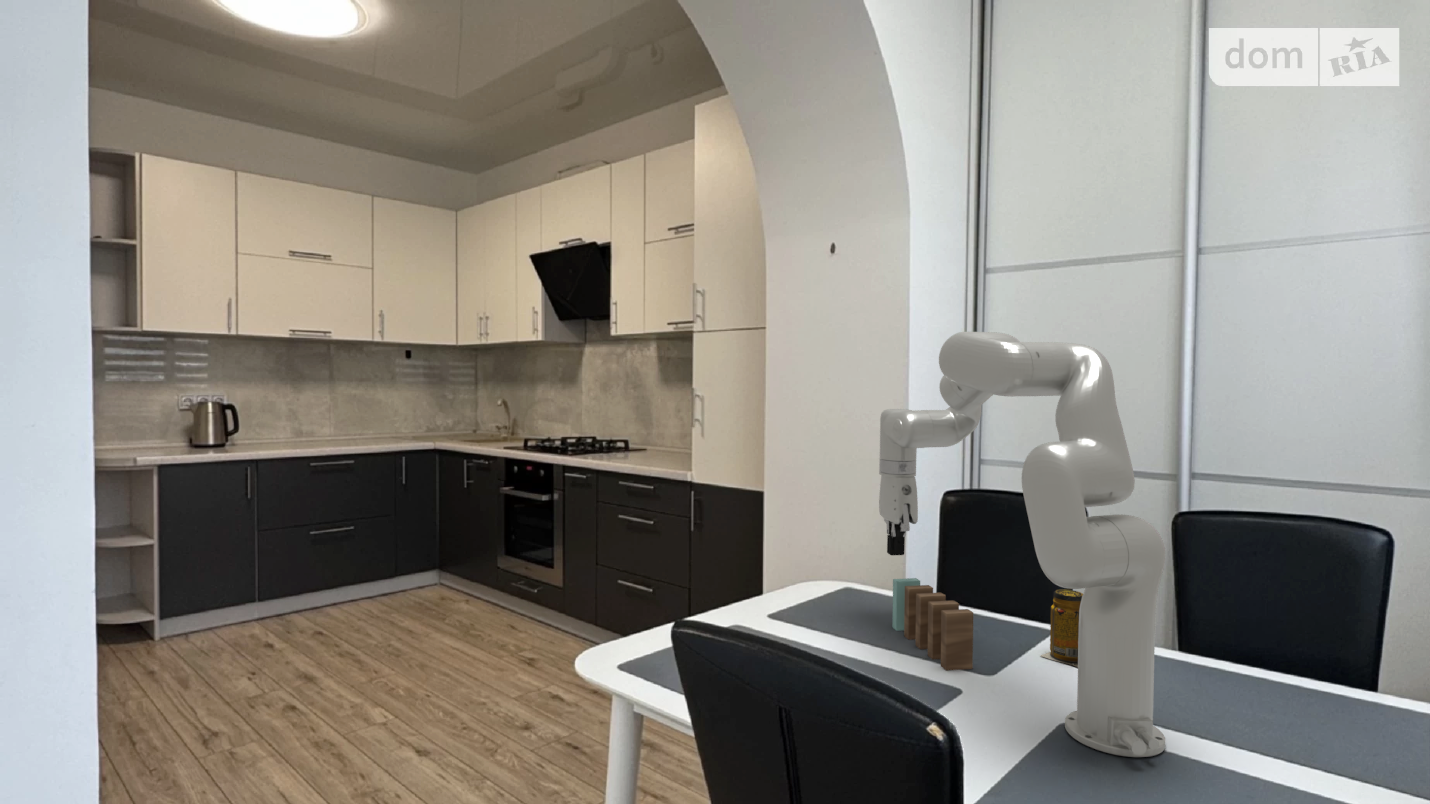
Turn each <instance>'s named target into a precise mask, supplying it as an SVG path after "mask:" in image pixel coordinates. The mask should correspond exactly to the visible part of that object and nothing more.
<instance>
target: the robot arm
mask: <svg viewBox="0 0 1430 804" xmlns="http://www.w3.org/2000/svg"><path fill="white" fill-rule="evenodd" d="M938 364H939V369H940V371H941V373H942V374H943V376H942V377H941V379H940V381H939V387H938V388H939V391H940V392H939V393H940V395H941V397H942V399H943V401H944V402H945V403H946V405H948V406H949V407H948V408H945V409H929V410H928V409H921V410H920V409H919V410H918V409H917V410H916V409H915V410H913V409H907V408H888V409H884V410H883V411H882V412H881V414H880V419H879V422H880V423H879V425H880V426H879V427H880V428H879V429H880V430H879V461H878V462H879V467H878V472H879V473H878V474H879V475H880V484H879V485H880V486H879V498H878V500H879V501H878V503H879V504H878V508H879V515H880V517H882V518H883V521H884V523H886V534H887V535H886V539H887V542H886V553H887V554H888V555H889V556H904V555H905V547H906V546H905V544H906V543H905V542H906V541H905V539H906V535H907V532H910V529H911V528H910V527H911V526H910V524H913V525H915V524H917V523H918V521H919V520H918V518H919V509H918V508H919V506H918V503H919V502H918V501H919V500H918V487H917V480H916V476H917V454H918V453H917V452H918V451H917V449H924V448H947V447H948V448H949V447H951V446H952V447H953V446H955V445H957V444H959V443H960V442H962V441H963V440H964V439H966V438H967V437H968V436H970V434H972V433H973V432H974V431H976V429H977V427H978V425H979V424H980V423H979V422H980V421H981V416H982V405H983V404H985V403H986V402H987V401H988V400H989V399H990V398H992V397H993V396H999V397H1000V396H1001V397H1007V398H1008V397H1011V398H1012V397H1054V396H1055V397H1058V396H1059V397H1060V398H1059V400H1058V402H1057V405H1056V410H1055V427H1056V429H1057V433H1058V438H1059V441H1050V442H1044V443H1042V444H1039V445H1037V446H1036V447H1033V449H1031V451H1030V452H1029V453H1028V455H1027V456H1026V457H1025V459H1024V463H1023V465H1022V471H1021V489H1022V493H1023V498H1024V505H1025V508H1026V513H1027V517H1028V522H1029V527H1030V531H1031V537H1032V541H1033V545H1034V546H1033V547H1034V551H1035V554H1036V558H1037V560H1038V563H1039V566H1040V568H1041V570H1042V571H1043V574H1044V575H1045V577H1047V579H1048V580H1050V582H1052V584H1054V585H1056V586H1058V587H1060V588H1062V589H1063V588H1064V589H1066V590H1082V589H1084V591H1083V596H1082V600H1081V603H1080V610H1079V638H1078V667H1077V690H1076V691H1077V692H1076V693H1077V694H1076V695H1077V699H1076V701H1077V702H1076V710H1075V711H1073V712H1070V713H1068V714H1067V715H1066V716H1065V719H1064V727H1065V730H1066V732H1067V733H1068V734H1069V735H1070V736H1071V737H1072V738H1073V739H1074V740H1076V741H1078V743H1081V744H1082V745H1084V746H1085V747H1086V746H1087V747H1088V748H1089V747H1090V748H1091V749H1095V750H1097V751H1100V752H1103V753H1107V754H1110V755H1114V756H1120V757H1127V758H1128V757H1129V758H1145V757H1146V758H1147V757H1148V758H1149V757H1153V756H1157V755H1159V754H1161V753H1163V751H1165V749H1166V737H1165V735H1164V733H1163V732H1162V731H1161V730H1160V729H1159V728H1158V727H1156V726H1154V691H1155V690H1154V689H1155V688H1154V685H1155V682H1154V681H1155V650H1156V649H1155V646H1156V645H1155V643H1156V642H1155V641H1156V640H1155V639H1156V617H1157V616H1156V615H1157V605H1158V604H1157V603H1158V594H1159V589H1160V585H1161V580H1162V576H1163V572H1164V568H1165V561H1166V550H1165V549H1166V548H1165V543H1164V540H1163V538H1162V536H1161V534H1160V533H1159V532H1158V530H1157V529H1156V527H1155V526H1153V525H1152V523H1149V522H1148V521H1147V520H1146V519H1143V518H1141V517H1139V516H1134V515H1129V514H1105V515H1093V516H1092V515H1091V516H1087V513H1086V508H1093V507H1094V508H1095V507H1104V506H1105V507H1106V506H1112V505H1116V504H1120V503H1122V502H1124V501H1126V500H1127V499H1129V498H1130V496H1131V495H1132V494H1133V492H1134V490H1135V484H1136V483H1135V474H1134V469H1133V465H1132V460H1131V456H1130V453H1129V447H1128V444H1127V440H1126V437H1125V433H1124V428H1123V425H1122V424H1123V423H1122V420H1121V417H1120V414H1119V411H1118V410H1119V409H1118V407H1117V400H1116V391H1115V382H1114V381H1115V380H1114V376H1113V371H1112V368H1111V365H1110V363H1109V361H1108V359H1107V358H1106V357H1105V356H1104V355H1103V353H1102V352H1101V351H1100V350H1098V349H1096V348H1095V347H1092V346H1090V345H1086V344H1082V343H1073V342H1056V341H1054V342H1053V341H1034V342H1033V341H1020V340H1019V339H1018V338H1017V337H1015V336H1013V335H1010V334H1009V333H1008V334H1007V333H1003V332H992V331H991V332H990V331H960V332H957V333H954V334H953V335H951V336H949V337H948V338H947V339H946V340H945V342H943V344H942V346H941V348H940V351H939V355H938Z"/></svg>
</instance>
